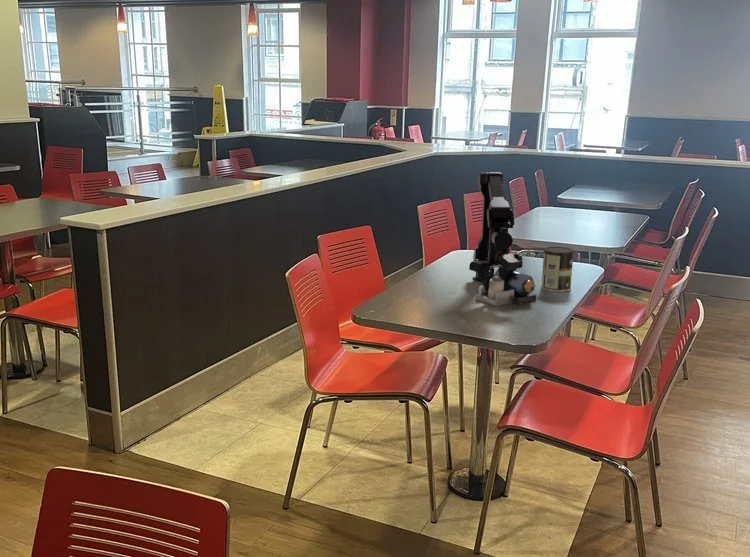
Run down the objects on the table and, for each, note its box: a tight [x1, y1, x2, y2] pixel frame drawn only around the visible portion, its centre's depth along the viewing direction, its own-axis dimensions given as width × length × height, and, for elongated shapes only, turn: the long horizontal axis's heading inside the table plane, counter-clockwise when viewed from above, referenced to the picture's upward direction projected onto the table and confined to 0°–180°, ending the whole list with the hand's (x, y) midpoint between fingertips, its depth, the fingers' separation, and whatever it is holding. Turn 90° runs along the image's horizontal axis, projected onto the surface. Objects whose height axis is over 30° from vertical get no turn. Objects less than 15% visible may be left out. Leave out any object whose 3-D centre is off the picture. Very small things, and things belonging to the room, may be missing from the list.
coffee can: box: [541, 246, 575, 293], centre depth 245 cm, size 10×10×14 cm
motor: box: [475, 268, 537, 307], centre depth 232 cm, size 15×16×9 cm
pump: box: [488, 276, 504, 300], centre depth 230 cm, size 5×5×8 cm
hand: (494, 289), depth 230 cm, fingers open, 6 cm apart
